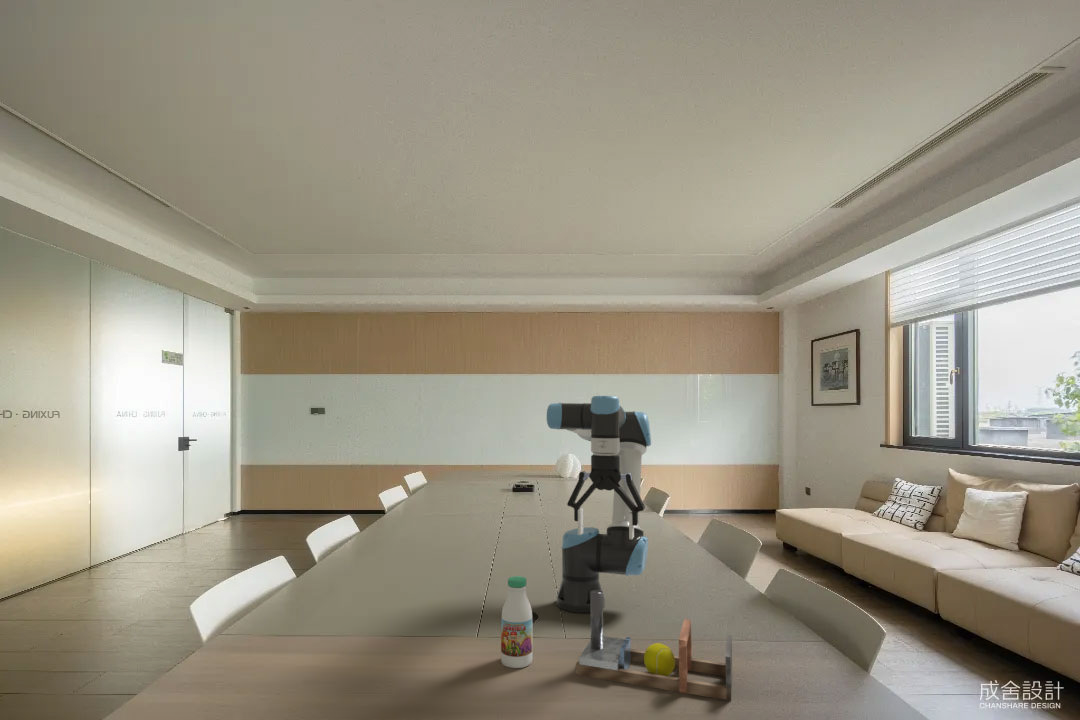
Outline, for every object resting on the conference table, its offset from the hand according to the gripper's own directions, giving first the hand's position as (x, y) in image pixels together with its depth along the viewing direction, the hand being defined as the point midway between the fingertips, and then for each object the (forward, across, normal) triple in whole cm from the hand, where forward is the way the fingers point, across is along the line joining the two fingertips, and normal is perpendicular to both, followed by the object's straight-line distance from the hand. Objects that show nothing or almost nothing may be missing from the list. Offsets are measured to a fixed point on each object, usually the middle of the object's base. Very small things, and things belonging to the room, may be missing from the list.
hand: (605, 536), depth 148 cm
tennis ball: (+29, +15, -9) cm, 34 cm away
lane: (+29, +13, -9) cm, 33 cm away
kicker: (+29, +2, -9) cm, 30 cm away
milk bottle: (+29, -19, -14) cm, 38 cm away
